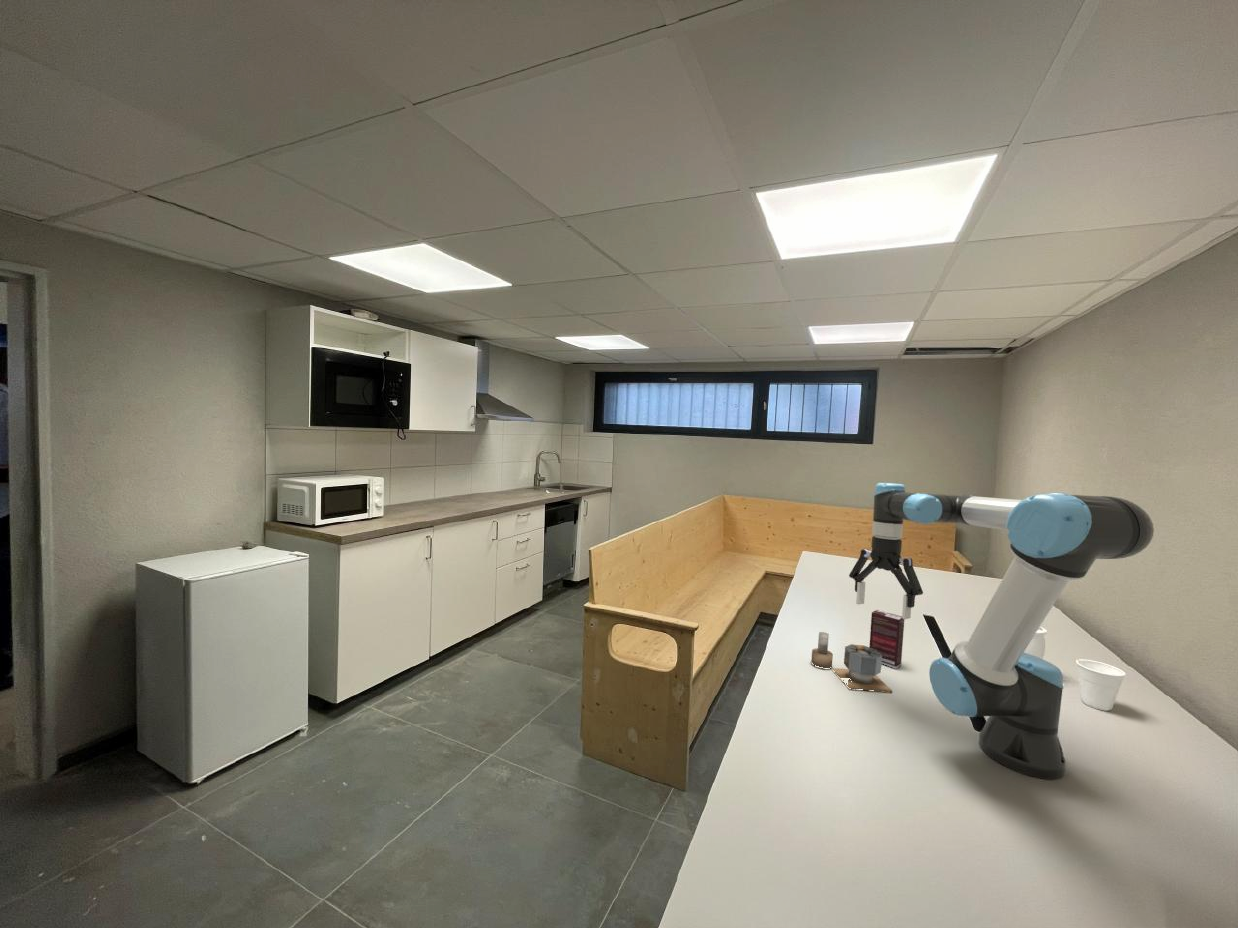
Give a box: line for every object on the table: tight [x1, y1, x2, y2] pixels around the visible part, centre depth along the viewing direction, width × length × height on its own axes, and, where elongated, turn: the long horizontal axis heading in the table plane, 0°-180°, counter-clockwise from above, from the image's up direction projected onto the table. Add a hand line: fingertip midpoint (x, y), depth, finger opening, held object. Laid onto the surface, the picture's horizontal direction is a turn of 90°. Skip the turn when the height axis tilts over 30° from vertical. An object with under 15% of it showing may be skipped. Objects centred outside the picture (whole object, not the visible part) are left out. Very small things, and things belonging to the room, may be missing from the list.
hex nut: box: [843, 643, 882, 676], centre depth 142 cm, size 9×9×5 cm
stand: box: [810, 631, 834, 668], centre depth 151 cm, size 6×6×10 cm
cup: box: [1075, 658, 1127, 712], centre depth 135 cm, size 10×10×11 cm
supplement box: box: [868, 609, 905, 670], centre depth 156 cm, size 9×5×16 cm, turn 43°
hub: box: [831, 651, 893, 693], centre depth 142 cm, size 12×12×8 cm
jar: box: [1024, 626, 1048, 660], centre depth 154 cm, size 11×10×15 cm
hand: (882, 610), depth 139 cm, fingers open, 13 cm apart
